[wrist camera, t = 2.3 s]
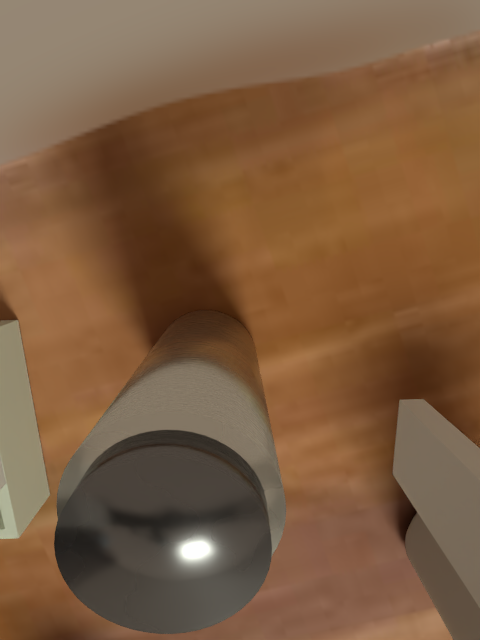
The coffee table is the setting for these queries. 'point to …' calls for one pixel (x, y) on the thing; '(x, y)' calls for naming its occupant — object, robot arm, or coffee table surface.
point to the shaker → (176, 486)
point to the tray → (18, 439)
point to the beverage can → (442, 582)
